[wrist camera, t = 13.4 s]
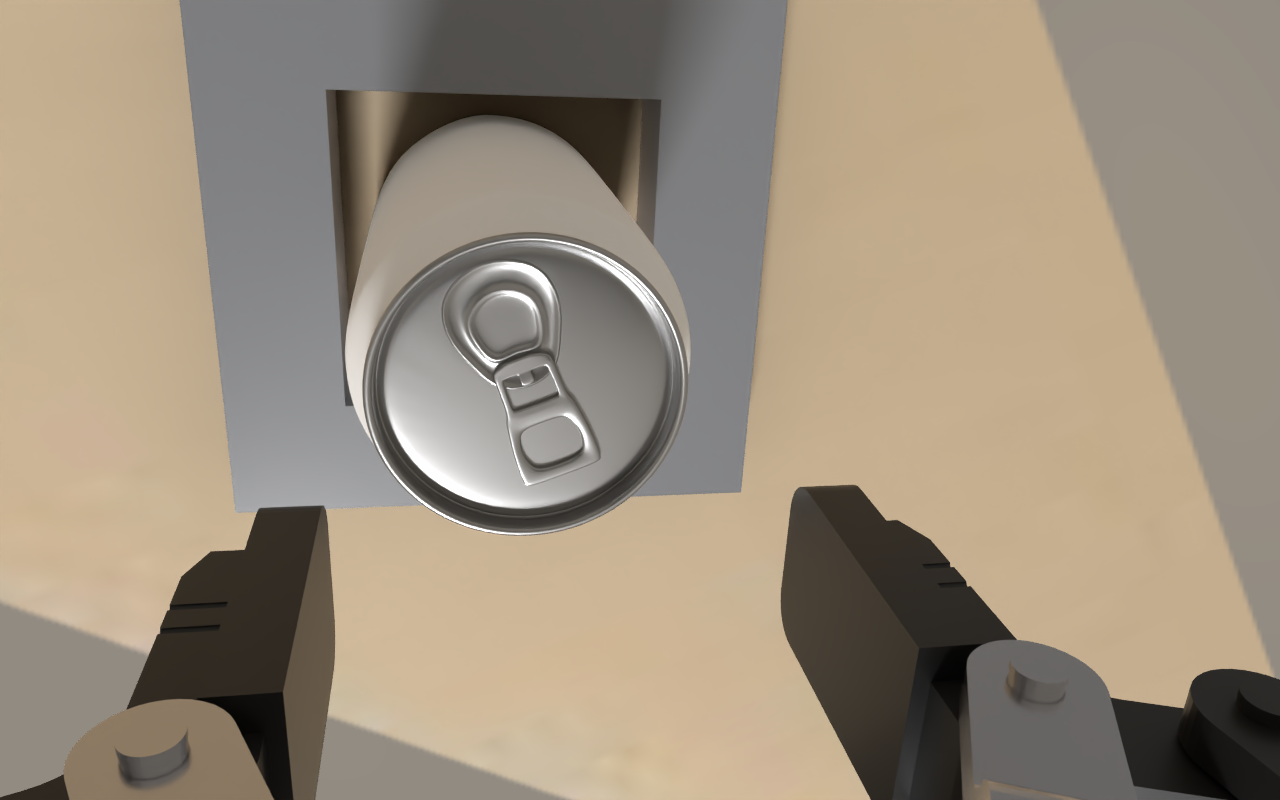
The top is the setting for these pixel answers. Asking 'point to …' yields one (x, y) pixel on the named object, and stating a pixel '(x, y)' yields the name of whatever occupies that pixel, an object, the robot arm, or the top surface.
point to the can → (513, 333)
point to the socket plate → (465, 64)
